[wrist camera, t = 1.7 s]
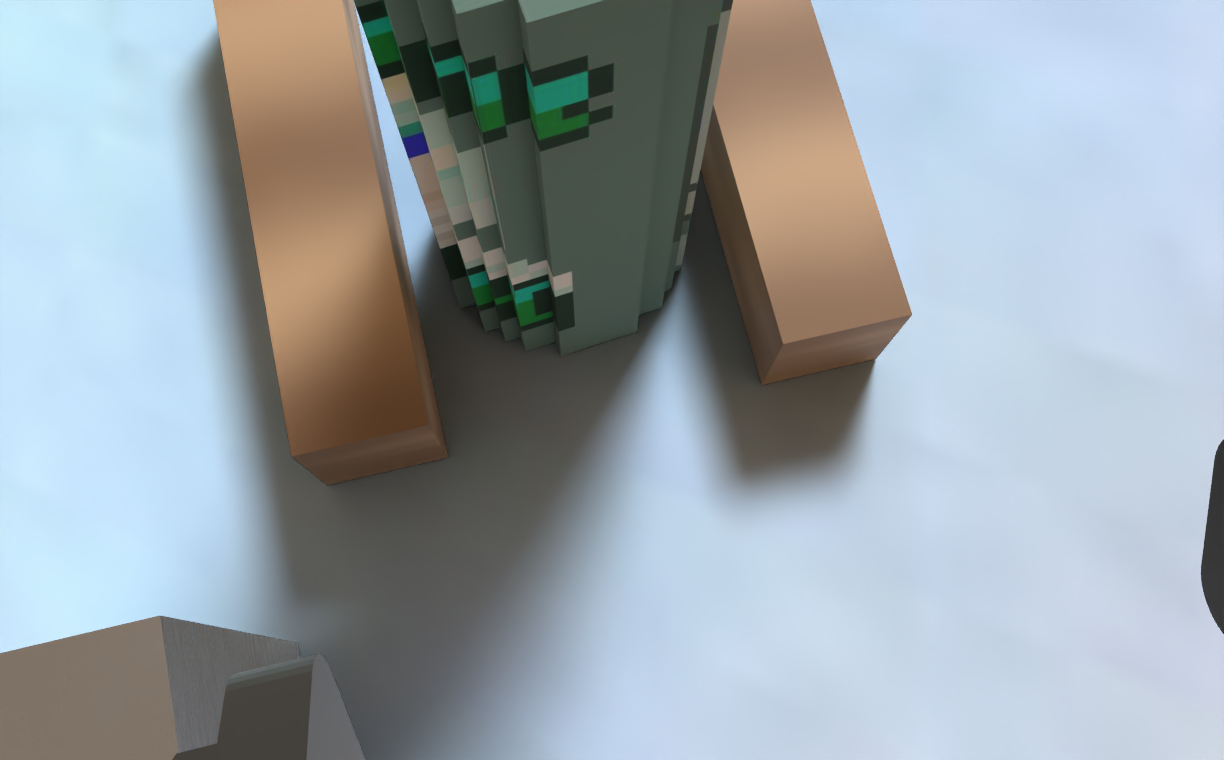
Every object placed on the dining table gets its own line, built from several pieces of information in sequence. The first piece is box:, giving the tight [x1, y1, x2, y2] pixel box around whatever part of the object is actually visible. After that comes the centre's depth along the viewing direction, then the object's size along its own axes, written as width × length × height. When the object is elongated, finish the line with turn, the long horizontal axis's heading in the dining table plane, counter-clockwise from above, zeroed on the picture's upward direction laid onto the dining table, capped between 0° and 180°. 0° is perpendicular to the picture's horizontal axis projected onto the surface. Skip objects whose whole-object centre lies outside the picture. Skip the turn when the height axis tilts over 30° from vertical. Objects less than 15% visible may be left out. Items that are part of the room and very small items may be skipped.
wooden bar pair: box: [213, 0, 912, 485], centre depth 29 cm, size 14×14×4 cm
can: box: [354, 0, 733, 356], centre depth 23 cm, size 6×6×15 cm
